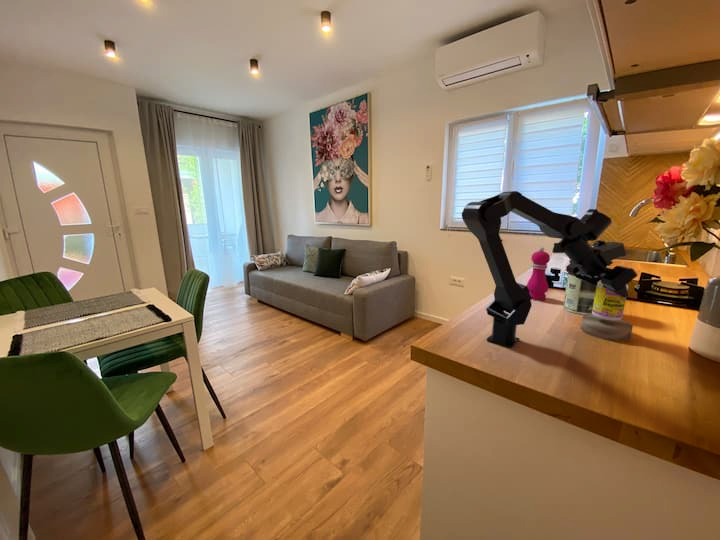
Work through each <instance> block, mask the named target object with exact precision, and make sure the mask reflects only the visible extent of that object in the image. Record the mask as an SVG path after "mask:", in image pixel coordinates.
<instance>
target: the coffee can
mask: <svg viewBox="0 0 720 540" xmlns="http://www.w3.org/2000/svg"><path fill="white" fill-rule="evenodd" d="M576 274H577V273H576ZM577 275H578V274H577ZM601 277H603V276H601ZM595 292H596V286H594V285H592V284H590V283H587V282H585V281H583V280H581V279H578V278H576V276H572V275H570V274H569V273H568V272H567V279H566V285H565V293H564V302H563V305H562V307H563V309H564V310H566V311H567V312H570V313H573V314H577V315H582V316H585V315H593V314H592V309H593V303H594V298H595Z"/></svg>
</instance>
